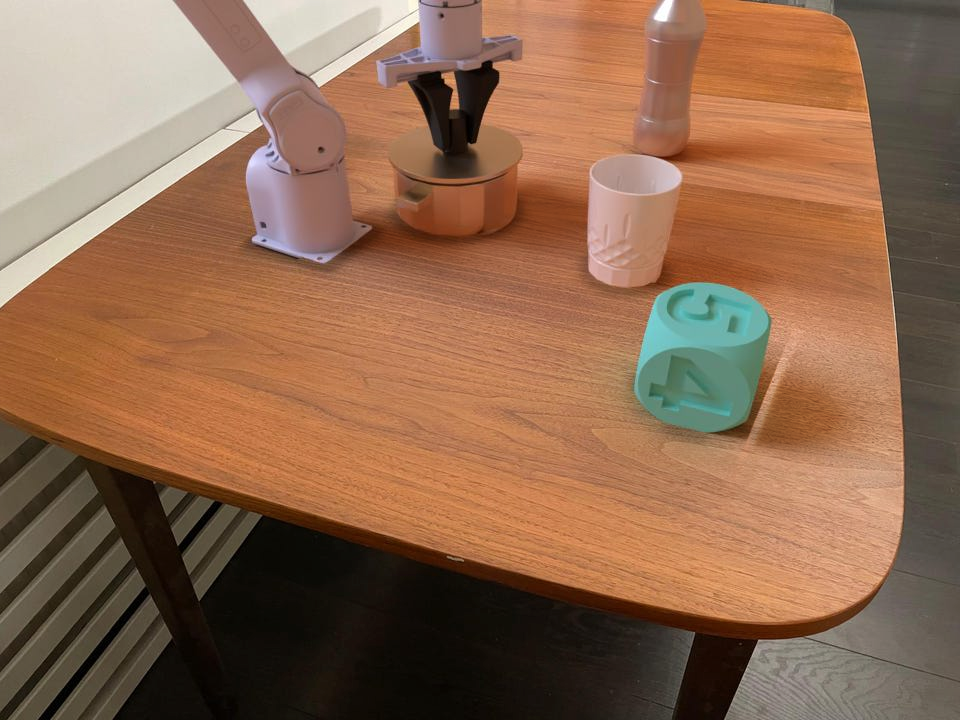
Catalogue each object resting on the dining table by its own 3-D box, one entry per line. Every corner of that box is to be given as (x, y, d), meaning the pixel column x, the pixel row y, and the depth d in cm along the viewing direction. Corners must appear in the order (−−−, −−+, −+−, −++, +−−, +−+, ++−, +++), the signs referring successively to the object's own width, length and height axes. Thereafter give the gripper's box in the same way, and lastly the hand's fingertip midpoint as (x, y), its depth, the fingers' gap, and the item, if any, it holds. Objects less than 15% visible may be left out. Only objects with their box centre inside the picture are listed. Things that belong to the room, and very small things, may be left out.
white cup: (622, 306, 67) (636, 204, 61) (563, 267, 72) (570, 169, 66) (683, 276, 71) (702, 177, 65) (623, 241, 76) (635, 146, 69)
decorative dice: (739, 446, 54) (765, 360, 49) (628, 418, 56) (642, 333, 51) (752, 377, 60) (776, 293, 55) (651, 355, 62) (665, 272, 57)
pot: (358, 232, 78) (352, 179, 74) (450, 164, 90) (448, 116, 86) (465, 264, 73) (463, 209, 69) (546, 188, 85) (549, 137, 81)
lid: (362, 171, 76) (356, 125, 73) (434, 123, 85) (432, 80, 82) (481, 201, 70) (480, 154, 67) (545, 147, 80) (547, 103, 77)
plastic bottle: (686, 165, 89) (719, -22, 76) (628, 160, 90) (650, -24, 77) (686, 142, 94) (716, -36, 81) (631, 138, 95) (652, -39, 82)
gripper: (396, 23, 62) (407, 176, 71) (542, -3, 68) (536, 142, 77) (361, 3, 67) (376, 149, 76) (501, -20, 73) (500, 118, 81)
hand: (454, 144), depth 77 cm, fingers closed on lid, 2 cm apart
